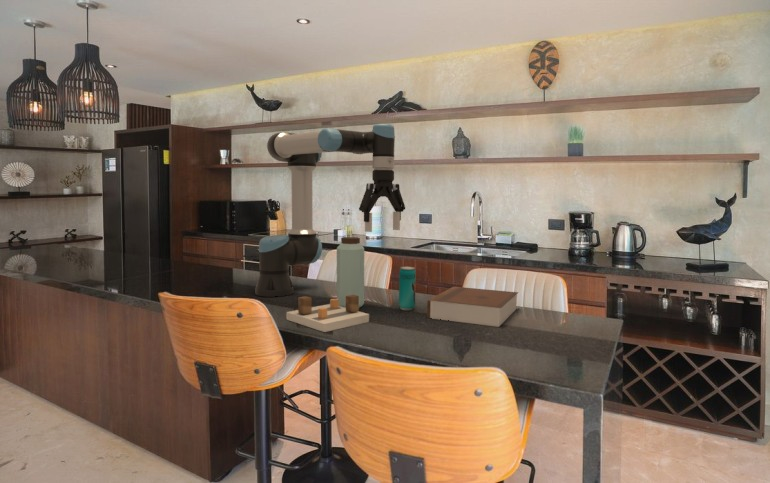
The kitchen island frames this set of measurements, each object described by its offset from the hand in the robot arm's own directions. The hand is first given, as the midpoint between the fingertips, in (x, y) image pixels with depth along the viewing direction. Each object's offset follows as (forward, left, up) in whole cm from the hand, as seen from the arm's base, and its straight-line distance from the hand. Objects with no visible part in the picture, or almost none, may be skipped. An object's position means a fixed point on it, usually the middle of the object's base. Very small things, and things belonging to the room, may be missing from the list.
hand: (382, 230), depth 180 cm
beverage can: (+6, +7, -28) cm, 30 cm away
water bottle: (-11, -5, -28) cm, 31 cm away
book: (+26, +20, -29) cm, 43 cm away
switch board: (0, -24, -28) cm, 37 cm away
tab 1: (-4, -30, -25) cm, 40 cm away
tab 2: (+4, -17, -25) cm, 31 cm away
